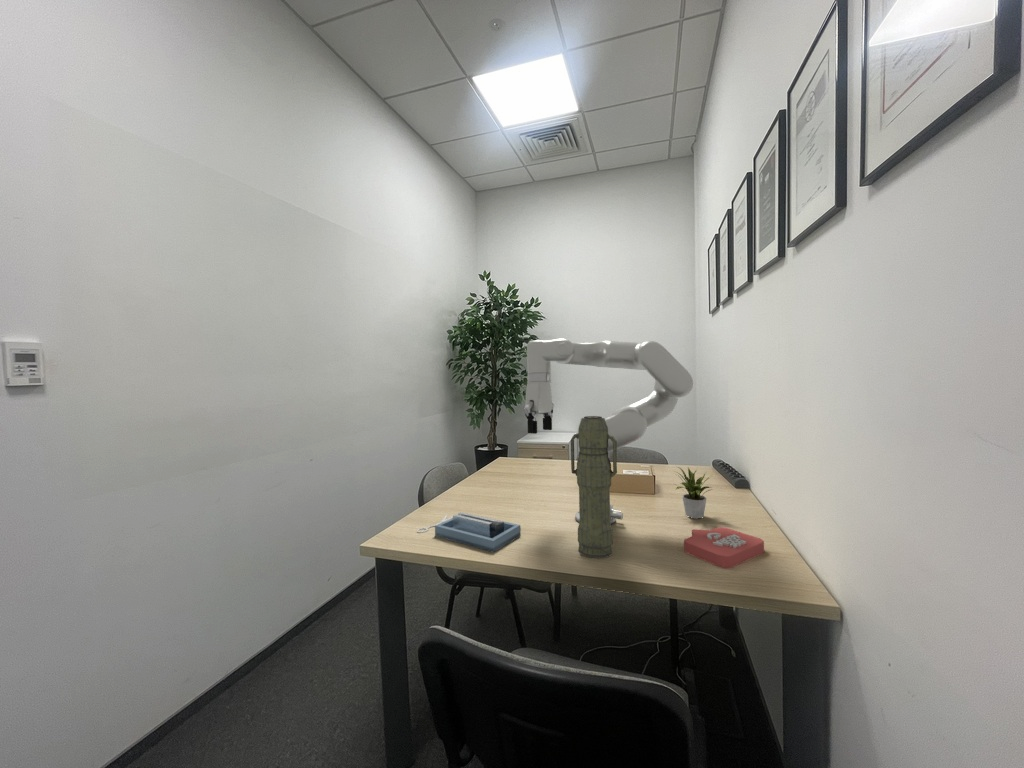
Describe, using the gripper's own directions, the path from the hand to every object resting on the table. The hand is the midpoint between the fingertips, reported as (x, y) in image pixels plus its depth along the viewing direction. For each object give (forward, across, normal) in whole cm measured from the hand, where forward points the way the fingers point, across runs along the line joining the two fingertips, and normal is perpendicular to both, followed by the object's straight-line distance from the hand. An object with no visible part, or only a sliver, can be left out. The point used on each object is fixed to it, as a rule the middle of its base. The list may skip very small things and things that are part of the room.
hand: (540, 431), depth 127 cm
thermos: (+28, +14, +24) cm, 40 cm away
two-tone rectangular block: (+27, +22, -9) cm, 36 cm away
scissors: (+29, +20, -25) cm, 43 cm away
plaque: (+29, -4, +51) cm, 59 cm away
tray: (+28, +22, -9) cm, 37 cm away
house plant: (+28, -27, +40) cm, 56 cm away
